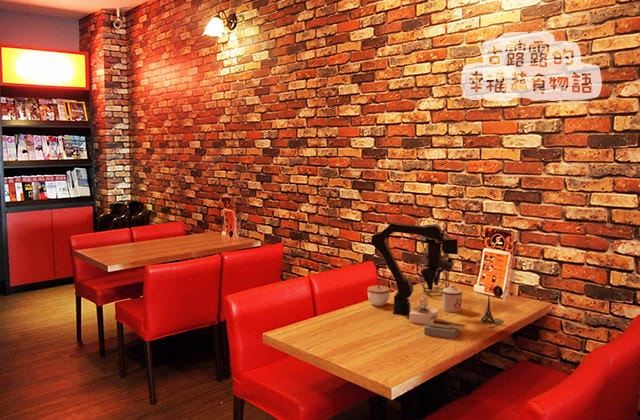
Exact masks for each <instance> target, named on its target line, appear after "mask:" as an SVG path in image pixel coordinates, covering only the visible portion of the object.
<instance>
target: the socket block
mask: <svg viewBox="0 0 640 420" xmlns="http://www.w3.org/2000/svg"><path fill="white" fill-rule="evenodd" d="M436 324H442V323H436ZM442 325H449V324H442ZM449 326H450V325H449ZM459 333H460V329H453V328H450V329H447V328H441V327H434V326H429V323H428V324H427V325H426V324H425V326H424V335H426V336H433V337H439V338H445V339H451V340H455V339H456V337H457V336H458V335H459Z"/></svg>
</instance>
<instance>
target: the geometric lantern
mask: <svg viewBox="0 0 640 420" xmlns="http://www.w3.org/2000/svg"><path fill="white" fill-rule="evenodd" d="M442 233H443V235H444V236H445V237H446V239H453V237H451V236H450V235H448V234H447V233H446V232H445V231H444V230H442ZM416 235H417V237H419V239H420V243H421V245H422V247H423V250H421V252H422V253H421V265H420V273H419V282H418V283H419V285H420V286H421V287H422V289H423V291H422V293H424V294H425V295H426V297H439V296H440V297H441V296H442V297H443V292H442V291H443V289H445V288H448V287H450V279H449V277H450V276H449V275H450V272H448V271H446V270H445V269H444V270H443V271H442V280H443V281H441V280H440V279H441V276H440V277H439V280H438V284H437V285H436V286H433V288H432V290H435V291H432V290H429V288H428V286H427V287H425V284H426V281H425V279H424V277H423V275H422V270H423V269H424V268H427V267H426V265H427V258H426V256H427V255H428V253H427V252H428V243H426V244H427V245H426V246H425V243H423V241H424V240H426V238H427V237H424V236H422V235H418V234H416ZM429 239H431V238H429ZM436 241H437V240H436ZM441 255H442V259H446V260H448V259H449V258H450V257H449V255H450V254H445V253H444V252H443V251H442V245H441ZM439 283H441V284H439ZM442 285H444V286H445V288H443V287H442V288H441V286H442ZM431 293H433V294H434V293H439V294H434V295H432V294H431Z"/></svg>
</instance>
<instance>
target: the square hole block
mask: <svg viewBox="0 0 640 420" xmlns="http://www.w3.org/2000/svg"><path fill="white" fill-rule="evenodd" d="M408 314H409V316H408V318H409V319H408V321H409V322H408V323H412V324H413V323H414V324H420V325H425V326H426V325H427V324H428V323H429V318H430V317H431V316H432V315H437V320H439V310H438V309H435V308H428V311H426V313H422V311H421V310H420V306H415V307H414V308H413V309H412V310H410V312H409V313H408Z"/></svg>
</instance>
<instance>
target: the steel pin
mask: <svg viewBox="0 0 640 420" xmlns="http://www.w3.org/2000/svg"><path fill="white" fill-rule="evenodd" d="M419 300H420V301H419V307H420V310H421V311H422V313H426V311H428V305H429V304H428V302H429V301H428V300H429V299H428V296H426V297H425V296H422V297H420V298H419Z"/></svg>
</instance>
